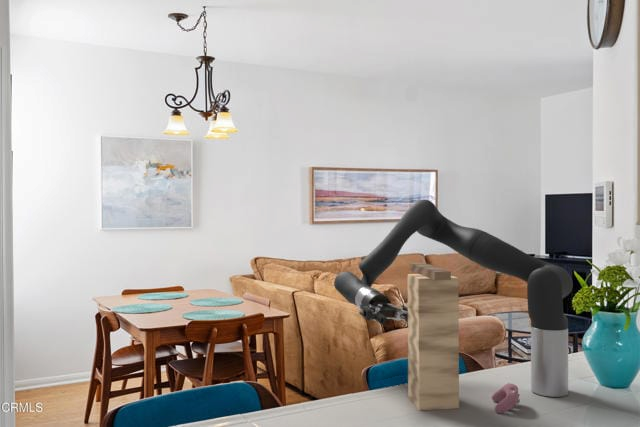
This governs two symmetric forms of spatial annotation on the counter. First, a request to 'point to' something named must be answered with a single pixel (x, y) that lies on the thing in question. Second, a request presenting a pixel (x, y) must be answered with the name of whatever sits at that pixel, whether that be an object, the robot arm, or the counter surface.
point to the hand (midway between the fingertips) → (399, 321)
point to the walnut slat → (430, 271)
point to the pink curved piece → (506, 398)
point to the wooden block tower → (433, 342)
